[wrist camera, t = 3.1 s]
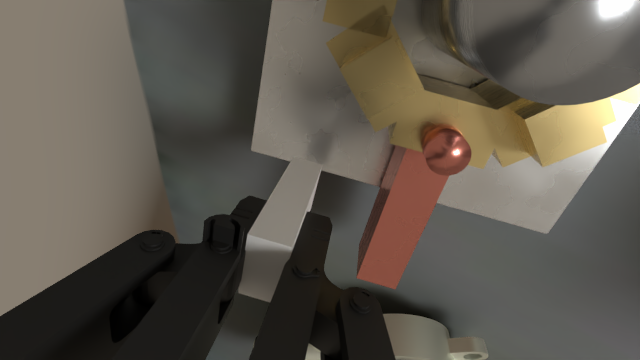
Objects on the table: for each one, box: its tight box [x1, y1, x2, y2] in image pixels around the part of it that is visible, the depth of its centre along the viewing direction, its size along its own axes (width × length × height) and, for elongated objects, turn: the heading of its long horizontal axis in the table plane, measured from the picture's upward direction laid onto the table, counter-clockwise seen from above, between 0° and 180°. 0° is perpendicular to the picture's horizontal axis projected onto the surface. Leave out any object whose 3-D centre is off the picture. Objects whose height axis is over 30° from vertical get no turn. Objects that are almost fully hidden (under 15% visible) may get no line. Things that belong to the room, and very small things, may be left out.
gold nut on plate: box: [251, 0, 640, 234], centre depth 12 cm, size 20×18×12 cm
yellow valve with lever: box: [323, 0, 640, 289], centre depth 14 cm, size 20×12×5 cm, turn 167°
